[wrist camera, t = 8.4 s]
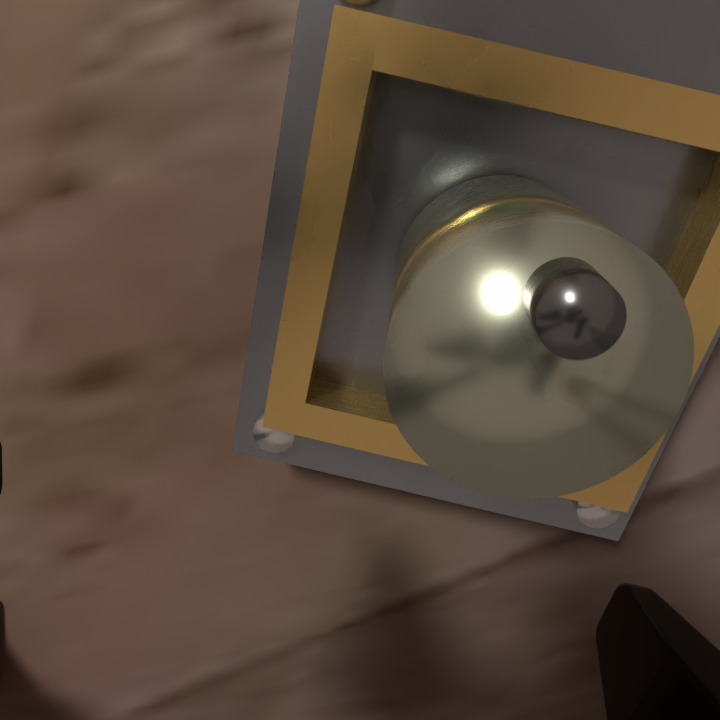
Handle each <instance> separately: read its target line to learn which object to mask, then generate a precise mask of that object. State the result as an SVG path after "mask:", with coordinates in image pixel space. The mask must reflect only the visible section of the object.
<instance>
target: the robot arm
mask: <svg viewBox="0 0 720 720" xmlns="http://www.w3.org/2000/svg"><path fill="white" fill-rule="evenodd" d="M1 490H2V446H1V443H0V494H1ZM596 643H597V650H598V658H599V665H600V672H601V679H602V686H603V694H604V701H605V708H606V715H607V720H720V651H719V650H718V649H717V648H716V647H715V646H714V645H713V644H712V643H711V642H710V641H708V640H707V639H706V638H705V637H704V636H703V635H702V634H701V633H700V632H698V631H697V630H696V629H695V628H694V627H693V626H692V625H691V624H690V623H689V622H687V621H686V620H685V619H684V618H683V617H682V616H681V615H680V614H679V613H677V612H676V611H675V610H674V609H673V608H672V607H671V606H670V605H669V604H668V603H666V602H665V601H664V600H663V599H662V598H661V597H660V596H659V595H658V594H657V593H655V592H654V591H653V590H651V589H649V588H646V587H642V586H638V585H633V584H629V583H623V584H620V585H619V586H618V587H617V588H616V590H615V591H614V593H613V595H612V597H611V599H610V601H609V603H608V605H607V607H606V609H605V611H604V613H603V615H602V617H601V619H600V621H599V623H598V626H597V632H596Z"/></svg>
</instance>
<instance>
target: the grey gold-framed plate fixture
mask: <svg viewBox="0 0 720 720" xmlns="http://www.w3.org/2000/svg"><path fill="white" fill-rule="evenodd" d="M495 175H510V176H517V177H523V178H527V179H531V180H534V181H537V182H540V183H542V184H544V185H546V186H548V187H550V188H552V189H553V190H555V191H556V192H558V193H559V194H561V195H562V196H564V197H565V198H566V199H568V200H569V201H571V202H572V203H574V204H575V205H577V206H578V207H580V208H581V209H583V210H584V211H585V212H587V213H588V214H590V215H591V216H593V217H594V218H596V219H597V220H599V221H600V222H601V223H603V224H604V225H606V226H607V227H609V228H610V229H612V230H613V231H615V232H616V233H617V234H619V235H620V236H622V237H623V238H625V239H626V240H628V241H629V242H631V243H632V244H633V245H635V246H636V247H638V248H639V249H641V250H642V251H644V252H645V253H646V254H647V255H649V256H650V257H651V258H652V259H653V260H654V261H655V262H656V263H657V264H658V265H660V266H661V268H662V269H663V270H664V271H665V272H666V274H667V275H668V276H669V277H670V279H671V280H672V281H673V283H674V284H675V286H676V288H677V289H678V291H679V293H680V295H681V296H682V298H683V301H684V303H685V306H686V308H687V311H688V314H689V316H690V321H691V326H692V331H693V336H694V362H693V372H692V376H691V380H690V384H689V388H688V391H687V394H686V396H685V399H684V401H683V404H682V406H681V408H680V410H679V412H678V414H677V415H676V417H675V419H674V421H673V422H672V424H671V425H670V427H669V428H668V429H667V431H666V432H665V433H664V435H663V436H662V437H661V439H660V440H659V441H658V442H657V443H656V444H655V445H654V446H653V447H652V448H651V449H650V450H649V451H648V452H647V453H646V454H645V455H644V456H643V457H641V458H640V459H639V460H638V461H636V462H635V463H634V464H633V465H632V466H630V467H628V468H627V469H625V470H624V471H622V472H621V473H619V474H618V475H616V476H614V477H612V478H610V479H608V480H606V481H604V482H602V483H600V484H598V485H595V486H593V487H590V488H587V489H584V490H582V491H578V492H575V493H571V494H567V495H563V496H556V497H550V498H540V499H516V498H505V497H499V496H493V495H488V494H485V493H482V492H478V491H475V490H472V489H469V488H467V487H464V486H462V485H460V484H457V483H455V482H453V481H452V480H450V479H448V478H446V477H445V476H443V475H441V474H440V473H438V472H437V471H436V470H434V469H433V468H432V467H430V466H429V465H428V464H426V463H425V462H424V461H423V460H422V459H421V458H420V457H419V456H418V455H417V454H416V453H415V452H414V451H413V449H412V448H411V447H410V446H409V444H408V443H407V442H406V441H405V439H404V438H403V436H402V434H401V433H400V431H399V429H398V428H397V426H396V424H395V422H394V419H393V417H392V415H391V412H390V410H389V407H388V403H387V399H386V395H385V390H384V381H383V356H384V350H385V343H386V336H387V329H388V322H389V315H390V308H391V301H392V294H393V287H394V281H395V274H396V267H397V261H398V255H399V252H400V249H401V245H402V242H403V240H404V238H405V236H406V234H407V231H408V230H409V228H410V226H411V225H412V223H413V222H414V220H415V219H416V218H417V216H418V215H419V214H420V213H421V212H422V210H423V209H424V208H425V207H426V206H427V205H428V204H429V203H431V202H432V201H433V200H434V199H435V198H437V197H438V196H439V195H441V194H442V193H444V192H445V191H447V190H449V189H451V188H452V187H454V186H456V185H458V184H461V183H464V182H466V181H469V180H472V179H476V178H480V177H485V176H495ZM719 337H720V0H300V3H299V10H298V16H297V23H296V30H295V36H294V43H293V50H292V56H291V63H290V70H289V76H288V83H287V90H286V96H285V103H284V110H283V116H282V123H281V130H280V136H279V143H278V149H277V156H276V163H275V169H274V176H273V183H272V189H271V196H270V203H269V209H268V216H267V223H266V229H265V236H264V243H263V249H262V256H261V263H260V269H259V276H258V283H257V289H256V296H255V303H254V309H253V316H252V323H251V329H250V336H249V343H248V349H247V356H246V363H245V369H244V376H243V383H242V389H241V396H240V403H239V409H238V416H237V423H236V429H235V436H234V443H233V449H232V451H235V452H240V453H244V454H248V455H252V456H257V457H261V458H265V459H270V460H274V461H278V462H282V463H287V464H291V465H295V466H299V467H304V468H308V469H312V470H316V471H321V472H325V473H329V474H333V475H338V476H342V477H346V478H350V479H355V480H359V481H363V482H367V483H372V484H376V485H380V486H384V487H389V488H393V489H397V490H401V491H406V492H410V493H414V494H418V495H423V496H427V497H431V498H435V499H440V500H444V501H448V502H453V503H457V504H461V505H465V506H470V507H474V508H478V509H482V510H487V511H491V512H495V513H499V514H504V515H508V516H512V517H516V518H521V519H525V520H529V521H533V522H538V523H542V524H546V525H550V526H555V527H559V528H563V529H567V530H572V531H576V532H580V533H584V534H589V535H593V536H597V537H601V538H606V539H610V540H614V541H619V539H620V537H621V535H622V533H623V531H624V529H625V527H626V525H627V523H628V521H629V519H630V517H631V515H632V513H633V511H634V509H635V507H636V505H637V503H638V501H639V499H640V497H641V495H642V492H643V490H644V488H645V486H646V484H647V482H648V480H649V478H650V476H651V474H652V472H653V470H654V468H655V466H656V464H657V462H658V460H659V458H660V456H661V454H662V452H663V450H664V448H665V446H666V444H667V442H668V440H669V438H670V436H671V434H672V432H673V430H674V428H675V426H676V424H677V422H678V420H679V418H680V416H681V414H682V412H683V410H684V408H685V406H686V404H687V402H688V400H689V398H690V396H691V394H692V392H693V390H694V388H695V386H696V384H697V382H698V380H699V378H700V376H701V374H702V372H703V370H704V368H705V366H706V364H707V362H708V360H709V358H710V356H711V354H712V352H713V350H714V348H715V345H716V343H717V341H718V339H719Z"/></svg>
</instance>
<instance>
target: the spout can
mask: <svg viewBox="0 0 720 720" xmlns="http://www.w3.org/2000/svg"><path fill="white" fill-rule="evenodd" d="M693 362H694V336H693V331H692V326H691V321H690V316H689V314H688V311H687V308H686V306H685V303H684V301H683V298H682V296H681V295H680V293H679V291H678V289H677V288H676V286H675V284H674V283H673V281H672V280H671V279H670V277H669V276H668V275H667V274H666V272H665V271H664V270H663V269H662V268H661V266H660V265H658V264H657V263H656V262H655V261H654V260H653V259H652V258H651V257H650V256H649V255H647V254H646V253H645V252H644V251H642V250H641V249H639V248H638V247H636V246H635V245H633V244H632V243H631V242H629V241H628V240H626V239H625V238H623V237H622V236H620V235H619V234H617V233H616V232H615V231H613V230H612V229H610V228H609V227H607V226H606V225H604V224H603V223H601V222H600V221H599V220H597V219H596V218H594V217H593V216H591V215H590V214H588V213H587V212H585V211H584V210H583V209H581V208H580V207H578V206H577V205H575V204H574V203H572V202H571V201H569V200H568V199H566V198H565V197H564V196H562V195H561V194H559V193H558V192H556V191H555V190H553V189H552V188H550V187H548V186H546V185H544V184H542V183H540V182H537V181H534V180H531V179H527V178H523V177H517V176H510V175H495V176H485V177H480V178H476V179H472V180H469V181H466V182H464V183H461V184H458V185H456V186H454V187H452V188H451V189H449V190H447V191H445V192H444V193H442V194H441V195H439V196H438V197H437V198H435V199H434V200H433V201H432V202H431V203H429V204H428V205H427V206H426V207H425V208H424V209H423V210H422V212H421V213H420V214H419V215H418V216H417V218H416V219H415V220H414V222H413V223H412V225H411V226H410V228H409V230H408V231H407V234H406V236H405V238H404V240H403V242H402V245H401V249H400V252H399V255H398V261H397V267H396V274H395V281H394V287H393V294H392V301H391V308H390V315H389V322H388V329H387V336H386V343H385V350H384V356H383V381H384V390H385V395H386V399H387V403H388V407H389V410H390V412H391V415H392V417H393V419H394V422H395V424H396V426H397V428H398V429H399V431H400V433H401V434H402V436H403V438H404V439H405V441H406V442H407V443H408V444H409V446H410V447H411V448H412V449H413V451H414V452H415V453H416V454H417V455H418V456H419V457H420V458H421V459H422V460H423V461H424V462H425V463H426V464H428V465H429V466H430V467H432V468H433V469H434V470H436V471H437V472H438V473H440V474H441V475H443V476H445V477H446V478H448V479H450V480H452V481H453V482H455V483H457V484H460V485H462V486H464V487H467V488H469V489H472V490H475V491H478V492H482V493H485V494H488V495H493V496H499V497H505V498H516V499H540V498H550V497H556V496H563V495H567V494H571V493H575V492H578V491H582V490H584V489H587V488H590V487H593V486H595V485H598V484H600V483H602V482H604V481H606V480H608V479H610V478H612V477H614V476H616V475H618V474H619V473H621V472H622V471H624V470H625V469H627V468H628V467H630V466H632V465H633V464H634V463H635V462H636V461H638V460H639V459H640V458H641V457H643V456H644V455H645V454H646V453H647V452H648V451H649V450H650V449H651V448H652V447H653V446H654V445H655V444H656V443H657V442H658V441H659V440H660V439H661V437H662V436H663V435H664V433H665V432H666V431H667V429H668V428H669V427H670V425H671V424H672V422H673V421H674V419H675V417H676V415H677V414H678V412H679V410H680V408H681V406H682V404H683V401H684V399H685V396H686V394H687V391H688V388H689V384H690V380H691V376H692V372H693Z"/></svg>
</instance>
